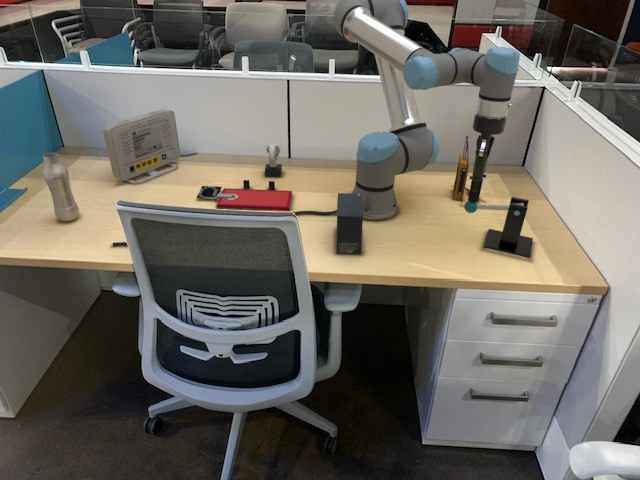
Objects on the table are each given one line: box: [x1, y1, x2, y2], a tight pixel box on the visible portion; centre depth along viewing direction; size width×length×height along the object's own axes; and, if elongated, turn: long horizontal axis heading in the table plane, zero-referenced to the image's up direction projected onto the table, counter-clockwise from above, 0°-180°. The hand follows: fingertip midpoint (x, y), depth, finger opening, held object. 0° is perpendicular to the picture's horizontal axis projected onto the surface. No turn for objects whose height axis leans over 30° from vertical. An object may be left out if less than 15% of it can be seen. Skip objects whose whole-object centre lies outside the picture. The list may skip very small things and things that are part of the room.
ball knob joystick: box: [463, 200, 524, 214], centre depth 129 cm, size 15×4×4 cm, turn 66°
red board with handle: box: [196, 179, 293, 211], centre depth 154 cm, size 30×3×15 cm
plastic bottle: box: [42, 152, 80, 222], centre depth 136 cm, size 6×7×20 cm
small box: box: [336, 192, 364, 255], centre depth 130 cm, size 13×7×12 cm, turn 178°
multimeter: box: [452, 135, 485, 204], centre depth 153 cm, size 15×10×20 cm
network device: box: [102, 108, 181, 185], centre depth 164 cm, size 26×9×20 cm, turn 144°
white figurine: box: [264, 143, 283, 178], centre depth 168 cm, size 6×8×11 cm
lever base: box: [483, 196, 534, 259], centre depth 129 cm, size 12×10×14 cm
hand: (473, 200), depth 131 cm, fingers closed
